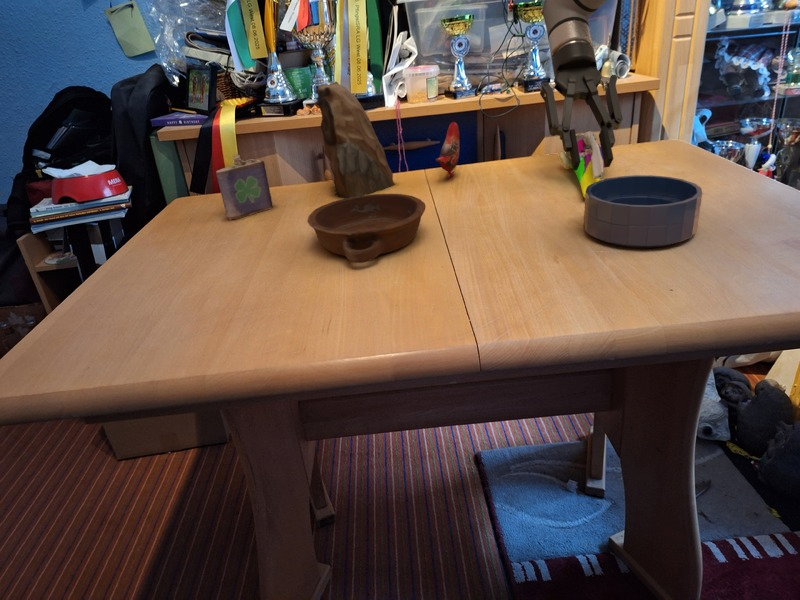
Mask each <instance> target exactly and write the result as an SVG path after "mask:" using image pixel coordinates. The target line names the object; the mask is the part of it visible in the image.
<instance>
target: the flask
mask: <svg viewBox="0 0 800 600" xmlns="http://www.w3.org/2000/svg"><path fill="white" fill-rule="evenodd" d="M231 159H233V160H234V161H233V163H232V164H233V165H231V166H228V167H224V168H221V169H218V170H216V172H215V175H216V179H217V183H218V187H219V191H220V195H221V199H222V204H223V207H224V212H225V217H226V219H227V220H229V221H232V220H238V219H242V218H244V217H248V216H251V215H254V214H256V213H261V212H264V211H267V210H271V209H273V208H274V205H273V200H272V194H271V190H270V185H269V180H268V174H267V170H266V164H265V161H264V160H261V159H253V158H251V159H247V160H244V159H242V158H241V156H240V154H235V155H233V156H231Z"/></svg>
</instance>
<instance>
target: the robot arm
mask: <svg viewBox="0 0 800 600" xmlns="http://www.w3.org/2000/svg"><path fill="white" fill-rule="evenodd" d="M541 1H542V2H541V4H542V17H543V20H544V25H545V30H546V34H547V41H548V46H549V52H550V53H549V54H550V59H551V66H552V71H553V77H554V78H553V80H552V81H551V82H548V81H542V83H541V86H540V91H539V95H540V96H541V98H542V100H543V101H544V107H545V113H546V119H547V125H548V130H549V135H550V136H552V137H554V136H555V137H556V136H559V140H560V141H561V142H562V148H563V152H565V153H566V152H570V157H571V158H570V159H571V162H572V168H573V169H572V168H571V169H572V171H573V170H577V169H578V167H579V164H580V162H581V161H580V156H579V150H578V144H577V139H576V136H577V133H576V129H575V128H572V129H570V128H571V121H572V113H573V104H574V102H575V101H578V100H583V101H585V104H586V105H587V106H589V108H590V110H591V112H592V114H593V116H594V118H595V120H596V122H597V124H598V127H599V128H600V131H599V133H598V140H599V146H600V147H601V150H602V155H603V160H604V165H605V168H610V167H611V164H612V162H613V160H614V155H613V149H612V148H613V147H614V145H615V143H616V137H615V131H617V130H619V128H620V126H621V125H622V122H623V120H624V119H623V114H622V113H623V112H622V109H621V104H620V100H619V95H618V90H617V81H618V76H617V75H616V74H611V75H610V77H609V76H603V75H602V73H601V72H600V71H599V69H598V63H597V60H596V59H597V57H596V54H595V49H594V43H593V39H592V33H591V30H590V24H589V18H590V17H591V16H592V14H594V13H595V12H596V11H597V10H598V9H599V8H600V7H601V6H602V5H603V4H604V3H605V2H607V0H541ZM599 85H600V86H602V90H603V92H605V94H604V95H605V101H606V106H607V108H606V106H605V104H604V102H603V100H602V98H601V97H600V95H599V89H598V87H599ZM555 91H556V92H558V93H559V94H560V95H562V96H563V97H564V98H563V108H562V109H563V110H562V119H561V124H560V122H559V117H558V111H557V104H556V99H555ZM614 130H615V131H614Z"/></svg>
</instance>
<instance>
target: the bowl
mask: <svg viewBox="0 0 800 600" xmlns="http://www.w3.org/2000/svg"><path fill="white" fill-rule="evenodd" d="M702 198H703V190H702V187H701V186H699V185H698V184H696V183H694V182H692V181H689V180H686V179H682V178H677V177H671V176H666V175H665V176H663V175H652V174H650V175H649V174H648V175H647V174H645V175H644V174H638V175H636V174H634V175H622V176H615V177H609V178H603V179H600V181H597V182H594V183H593V184H591V185H589V186H588V187H587V189H586V191H585V198H584V210H583V211H584V213H583V228H584V230H585V232H586V233H587V234H589V235H590V236H592V237H593V238H595V239H597V240H600V241H602V242H605V243H607V244H611V245H614V246H618V247H619V246H620V247H626V248H634V249H650V248H660V247H666V246H670V245H674V244H676V243H681V242H684V241H685V240H688V239H691V238H692V237H693V236H694V235H695V234H696V233H697V231H698V227H699V226H698V225H699V221H700V220H699V219H700V212H701V206H702Z"/></svg>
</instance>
